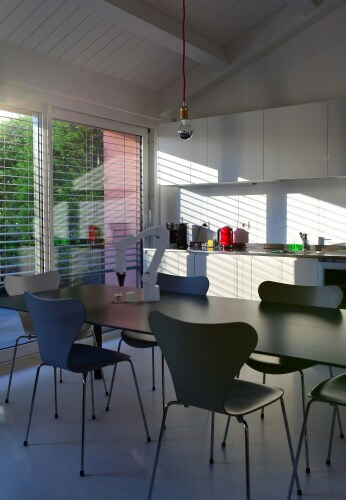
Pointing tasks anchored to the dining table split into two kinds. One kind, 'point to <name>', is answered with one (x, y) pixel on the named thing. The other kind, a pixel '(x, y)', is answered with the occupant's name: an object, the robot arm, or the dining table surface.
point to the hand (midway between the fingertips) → (121, 285)
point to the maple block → (118, 298)
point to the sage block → (130, 297)
